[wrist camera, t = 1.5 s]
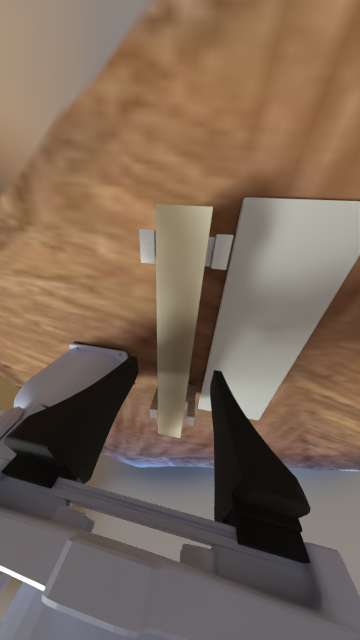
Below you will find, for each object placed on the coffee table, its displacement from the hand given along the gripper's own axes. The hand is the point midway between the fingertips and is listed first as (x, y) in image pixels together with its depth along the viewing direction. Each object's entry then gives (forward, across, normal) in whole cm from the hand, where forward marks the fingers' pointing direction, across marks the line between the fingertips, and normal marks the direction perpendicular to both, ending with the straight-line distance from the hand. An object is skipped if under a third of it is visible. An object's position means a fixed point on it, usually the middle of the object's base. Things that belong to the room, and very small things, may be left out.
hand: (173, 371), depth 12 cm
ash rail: (+3, 0, 0) cm, 3 cm away
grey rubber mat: (+6, -9, 0) cm, 11 cm away
